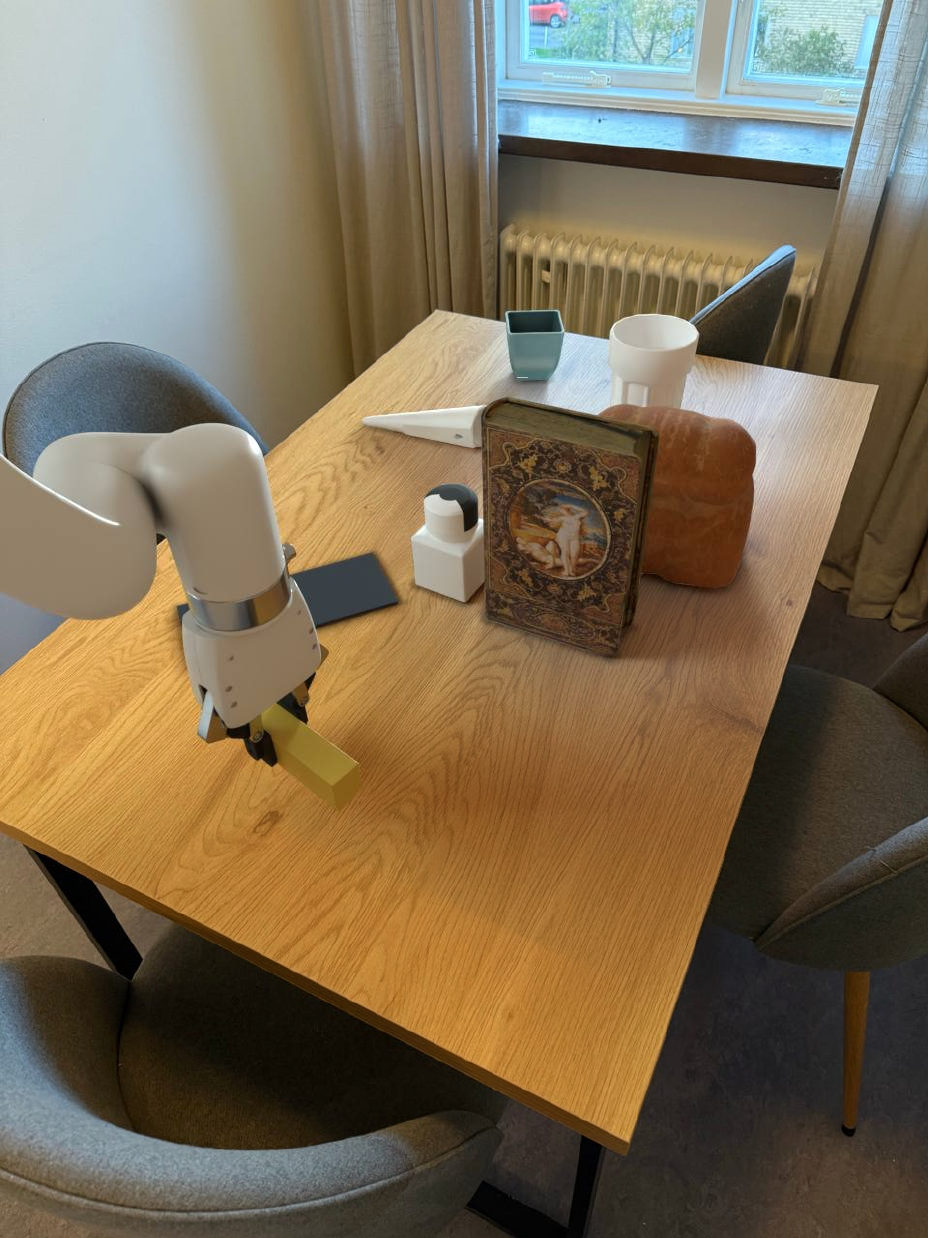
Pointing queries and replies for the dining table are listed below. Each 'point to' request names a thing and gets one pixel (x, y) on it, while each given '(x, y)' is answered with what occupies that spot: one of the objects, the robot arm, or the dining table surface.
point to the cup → (651, 360)
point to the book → (564, 520)
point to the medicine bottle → (450, 543)
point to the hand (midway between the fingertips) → (280, 743)
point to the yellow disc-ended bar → (312, 758)
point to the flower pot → (534, 343)
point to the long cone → (436, 424)
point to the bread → (696, 494)
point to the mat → (340, 590)
